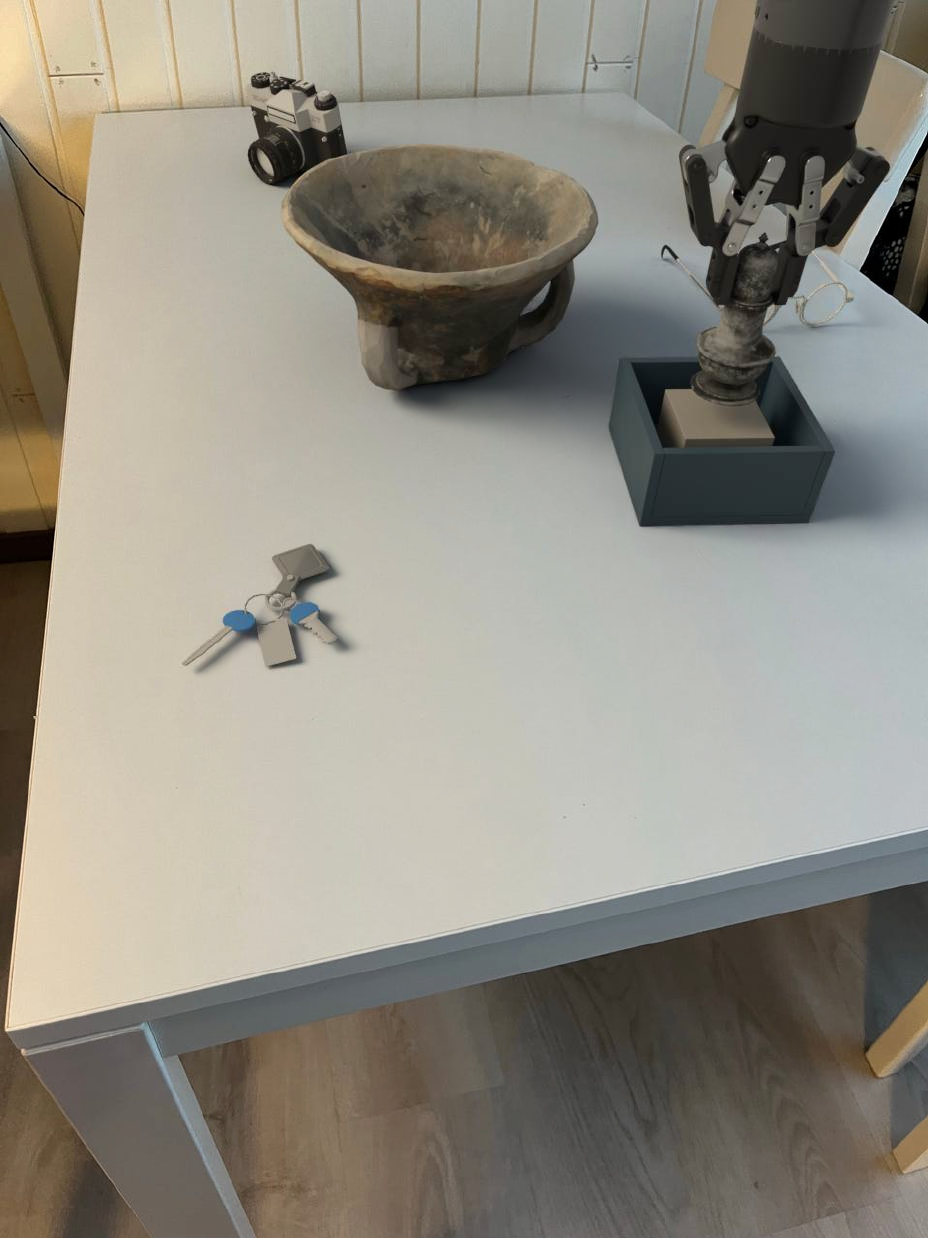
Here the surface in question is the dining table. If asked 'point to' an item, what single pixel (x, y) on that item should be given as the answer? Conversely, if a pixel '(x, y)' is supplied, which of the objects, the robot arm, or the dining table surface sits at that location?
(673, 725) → the dining table surface
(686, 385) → the crate
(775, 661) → the dining table surface
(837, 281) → the eyeglasses
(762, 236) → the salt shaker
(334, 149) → the camera
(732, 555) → the dining table surface
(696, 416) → the block
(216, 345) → the dining table surface
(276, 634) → the key chain
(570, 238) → the bowl
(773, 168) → the robot arm
